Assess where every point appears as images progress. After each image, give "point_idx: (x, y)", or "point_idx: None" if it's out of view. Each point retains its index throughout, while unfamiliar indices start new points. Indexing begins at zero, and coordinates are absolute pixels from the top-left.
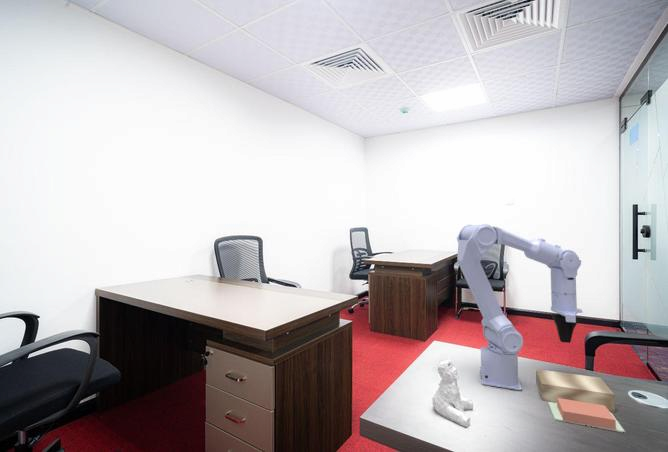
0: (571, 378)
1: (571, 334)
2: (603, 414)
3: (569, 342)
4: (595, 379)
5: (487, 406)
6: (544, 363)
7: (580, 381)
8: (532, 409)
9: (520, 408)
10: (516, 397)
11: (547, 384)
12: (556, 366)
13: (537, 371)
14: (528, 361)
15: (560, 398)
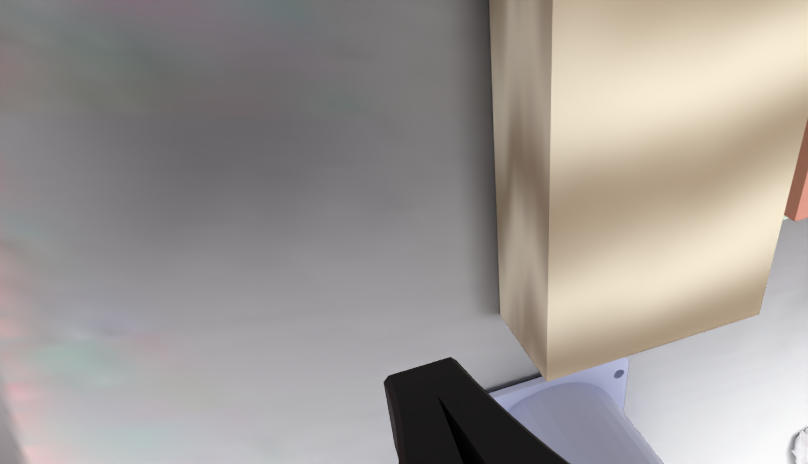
0: (643, 183)
1: (537, 439)
2: None
3: (458, 364)
4: (612, 16)
5: (781, 402)
6: (30, 342)
7: (679, 127)
8: (781, 278)
9: (779, 315)
10: (687, 349)
11: (764, 290)
12: (34, 260)
13: (584, 366)
14: (81, 431)
15: (798, 205)
